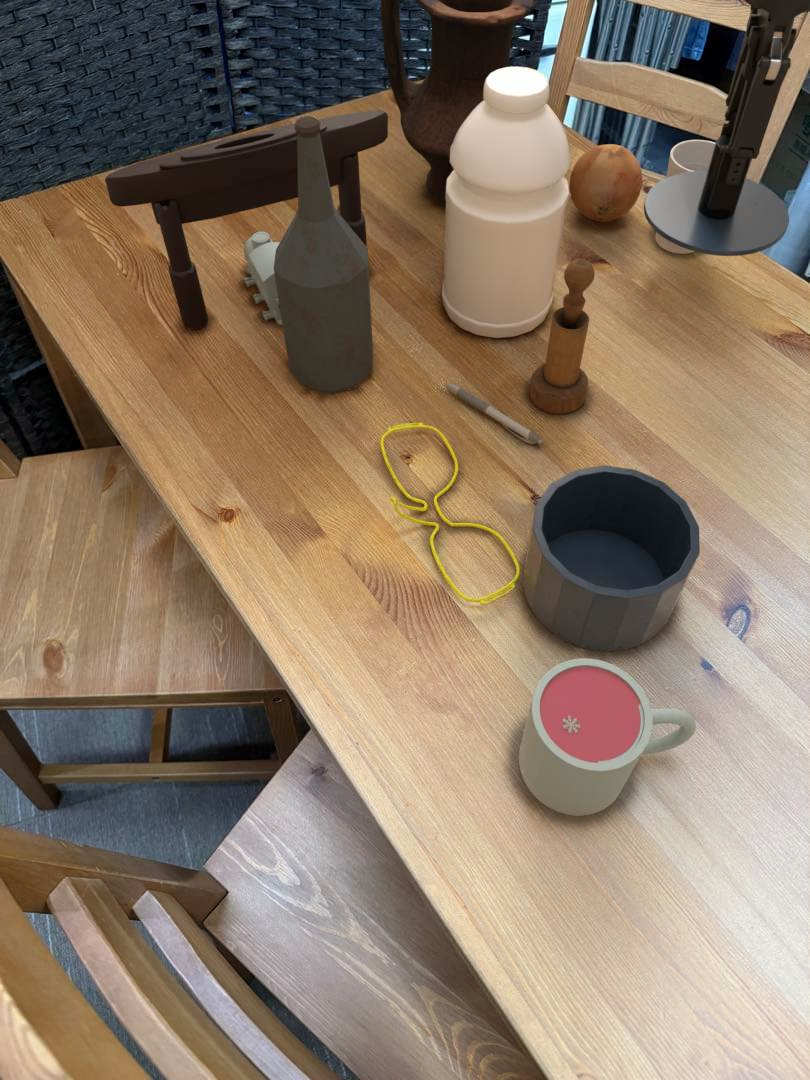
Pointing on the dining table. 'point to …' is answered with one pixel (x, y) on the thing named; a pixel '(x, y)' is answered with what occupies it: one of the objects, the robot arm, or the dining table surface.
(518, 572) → the glasses
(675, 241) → the lid
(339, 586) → the dining table surface
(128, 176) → the stool
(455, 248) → the bottle
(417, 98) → the jug
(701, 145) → the cup
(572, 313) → the mortar and pestle
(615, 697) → the mug
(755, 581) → the dining table surface
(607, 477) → the pot
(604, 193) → the onion
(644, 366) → the dining table surface
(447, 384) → the pen
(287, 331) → the bottle
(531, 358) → the dining table surface
